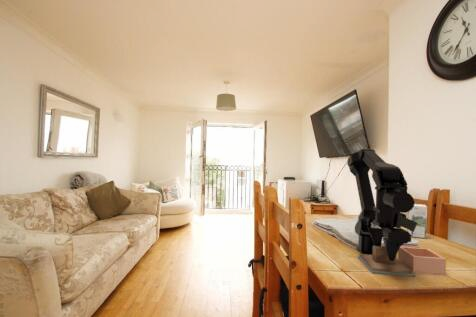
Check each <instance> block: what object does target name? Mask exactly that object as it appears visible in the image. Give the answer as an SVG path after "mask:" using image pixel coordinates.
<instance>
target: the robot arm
mask: <svg viewBox="0 0 476 317" xmlns="http://www.w3.org/2000/svg"><path fill="white" fill-rule="evenodd" d="M346 162H347V163H346V164H347V166H348V168H349V172H350V173H351V174H352V175H353V176H354V177H355V181H356V186H357V192H358V197H359V203H360V210H361V211H360V212H359V215H358V220H357V222H356V223H355V226H354V233H355V234H356V235H357V236H358V240H357V241H358V243H357V244H358V246H356V249H357V250H358V251H359V252H360V254H366V255H373V246H382V243H383V244H384V247H385V248H386V251H387V255H388V258H389V260H390V261H394V259H395V257H396V258H397V256H398V250H399V248H400V247H402V246H403V245H404V244H407V245H408V244H409V243H412V237H411V234H410V233H409V232H408V231H407V229H409V230H410V231H412V232H414V230H415V228H416V225H417V222H415V221H412V220H410V219H408V217H407V214H405V213H408V212H409V211H410V210H412V208H413V207H414V204H416V203H415V200H414V197H413V195H411V194H410V193H408V182H407V180H406V178H405V177H404V174H403V172H402V170H401V168H400V167H399V166H397V165H396V164H391V163H388V162H386V161H385V160H384V159H383V158H382V157H380V156H379V154H377V153H376V151H375V149H373V148H361V149H358V151H356V152H354V153H351V154H350V155H349V157H348V158H347V161H346ZM370 170H371V172H372V174H371V177H372V179H373V180H372V181H373V182H374V184H375V187H374V189H375V190H376V192H375V199H374V194H373V190H372V184H371V180H370V176H369V172H370Z"/></svg>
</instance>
